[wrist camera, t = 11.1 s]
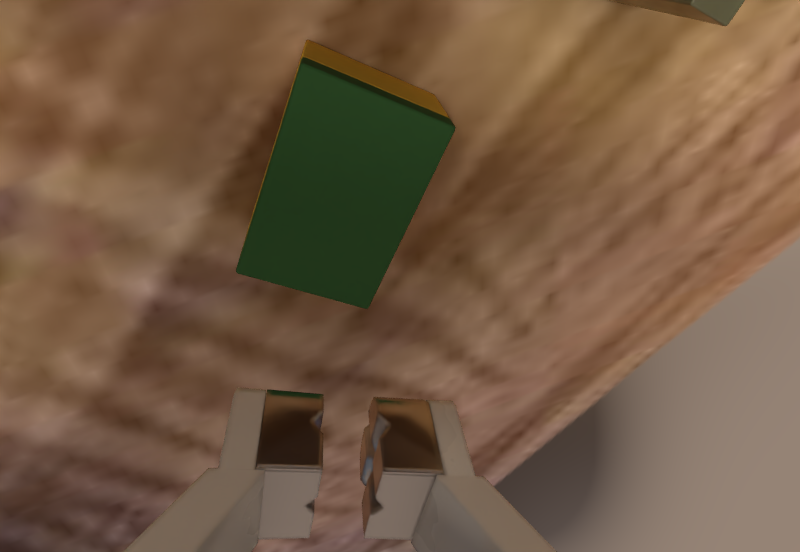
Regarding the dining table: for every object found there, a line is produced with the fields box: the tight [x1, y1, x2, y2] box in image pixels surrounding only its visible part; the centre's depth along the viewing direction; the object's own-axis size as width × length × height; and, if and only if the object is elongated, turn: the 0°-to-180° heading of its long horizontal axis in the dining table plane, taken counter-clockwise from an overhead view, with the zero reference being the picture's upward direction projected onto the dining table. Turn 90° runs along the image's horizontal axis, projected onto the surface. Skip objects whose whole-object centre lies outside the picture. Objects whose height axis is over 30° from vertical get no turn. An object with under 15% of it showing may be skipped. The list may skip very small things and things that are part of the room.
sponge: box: [236, 40, 455, 309], centre depth 18 cm, size 8×5×4 cm, turn 156°
